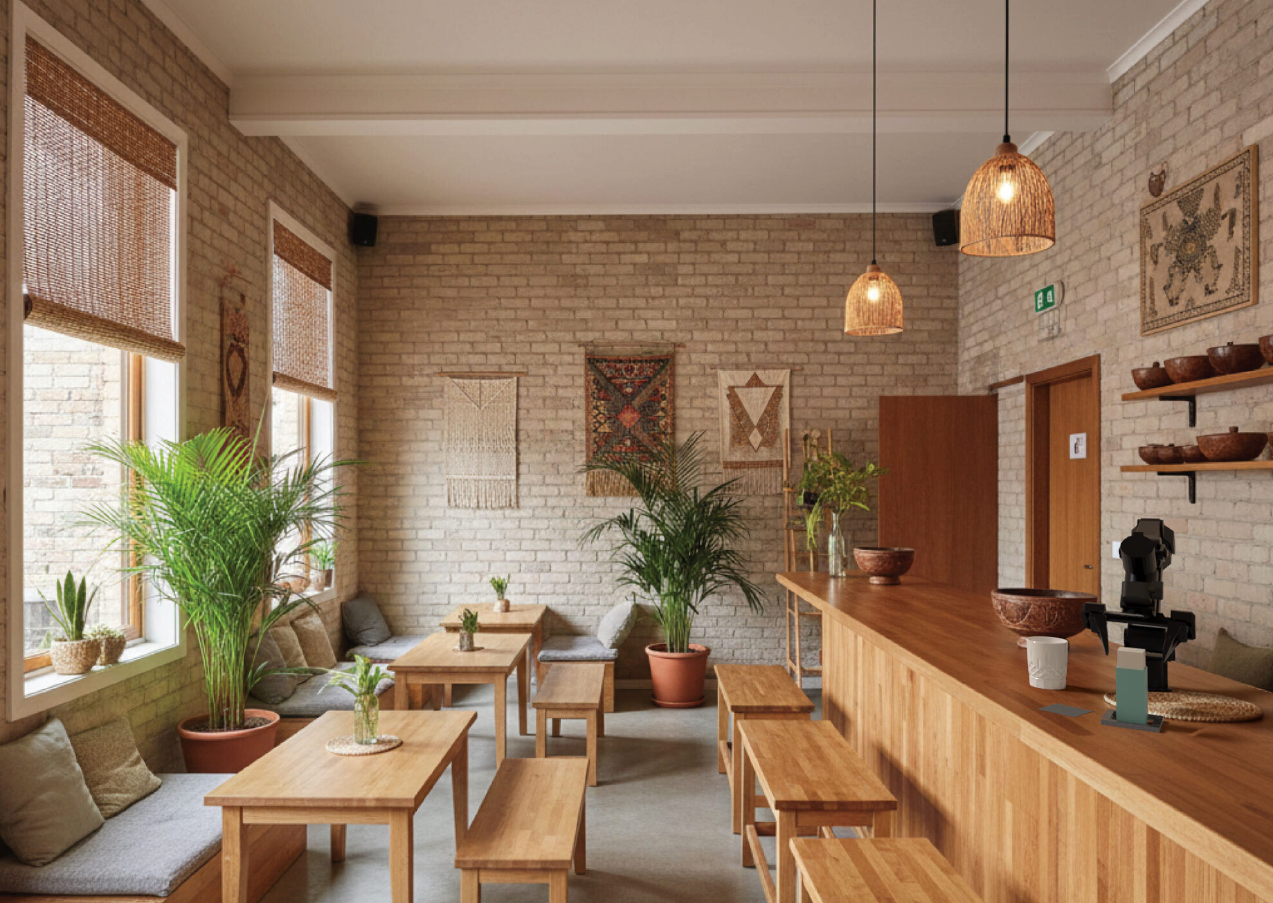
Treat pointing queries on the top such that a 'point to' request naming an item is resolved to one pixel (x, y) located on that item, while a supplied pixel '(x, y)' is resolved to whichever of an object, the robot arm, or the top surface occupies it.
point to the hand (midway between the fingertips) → (1134, 657)
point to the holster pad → (1065, 710)
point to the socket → (1131, 725)
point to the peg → (1131, 686)
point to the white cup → (1047, 662)
